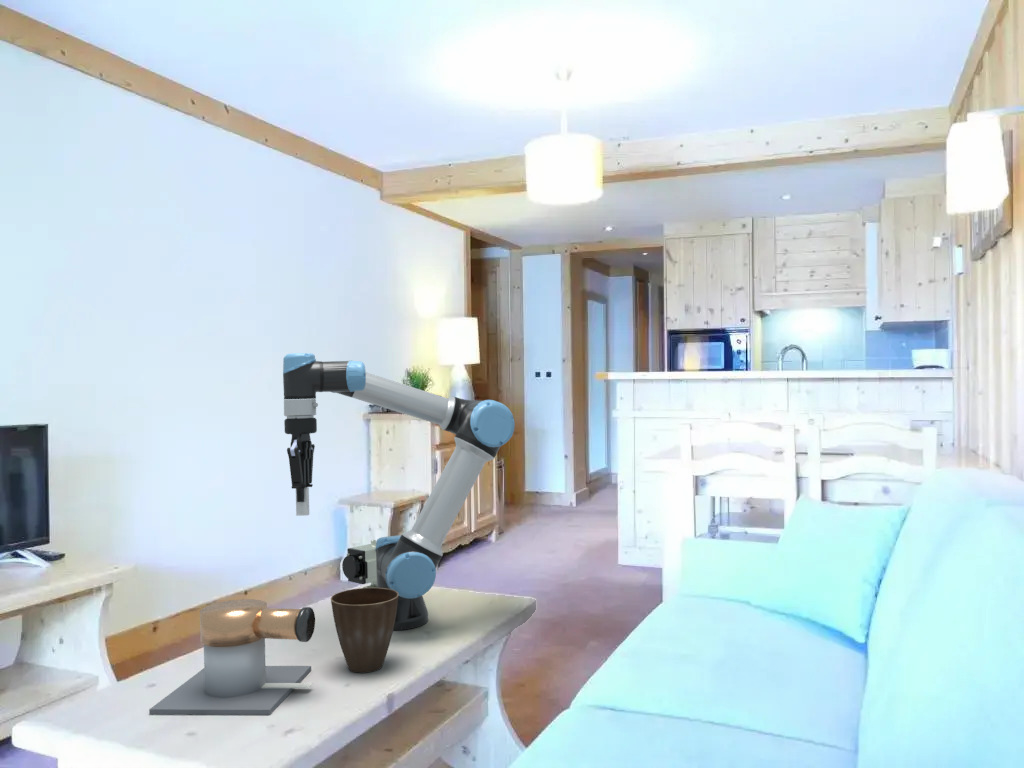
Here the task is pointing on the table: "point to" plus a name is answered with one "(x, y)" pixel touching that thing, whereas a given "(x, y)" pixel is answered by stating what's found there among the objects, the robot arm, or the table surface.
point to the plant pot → (365, 625)
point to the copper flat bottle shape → (253, 623)
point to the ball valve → (361, 565)
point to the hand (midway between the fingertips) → (302, 514)
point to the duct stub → (234, 684)
